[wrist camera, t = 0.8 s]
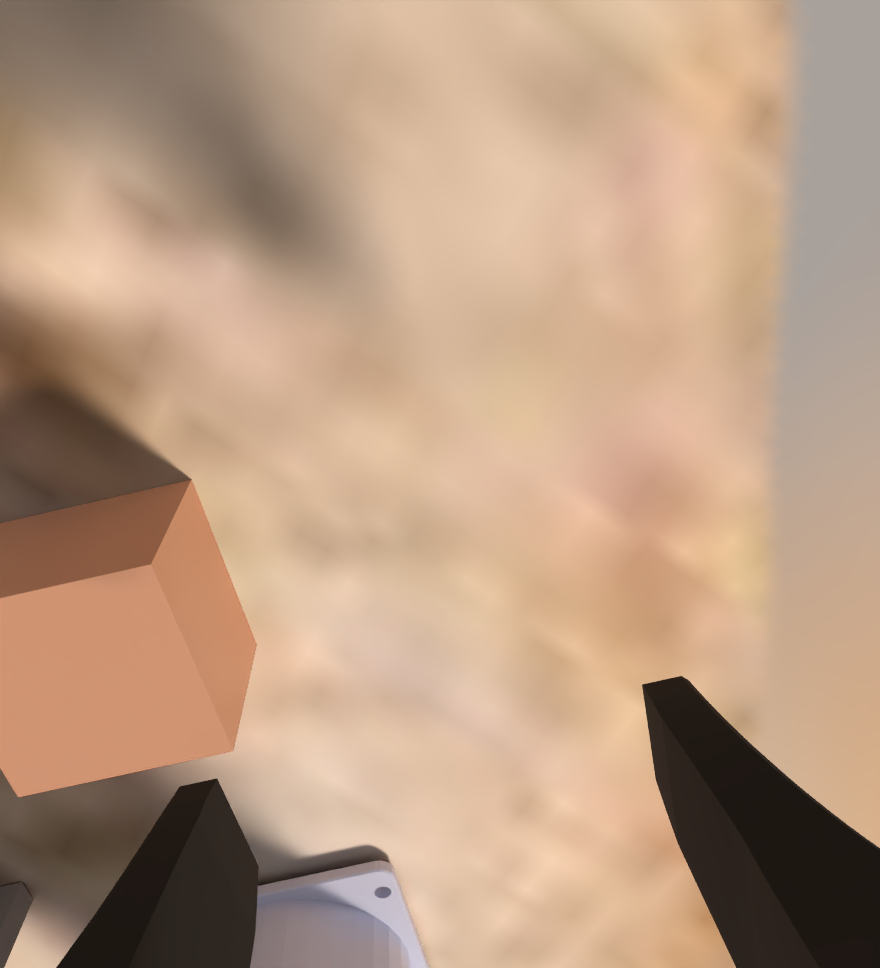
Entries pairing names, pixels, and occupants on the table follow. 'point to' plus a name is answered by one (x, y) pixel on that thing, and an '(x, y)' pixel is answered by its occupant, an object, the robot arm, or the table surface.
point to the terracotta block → (117, 640)
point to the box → (12, 916)
